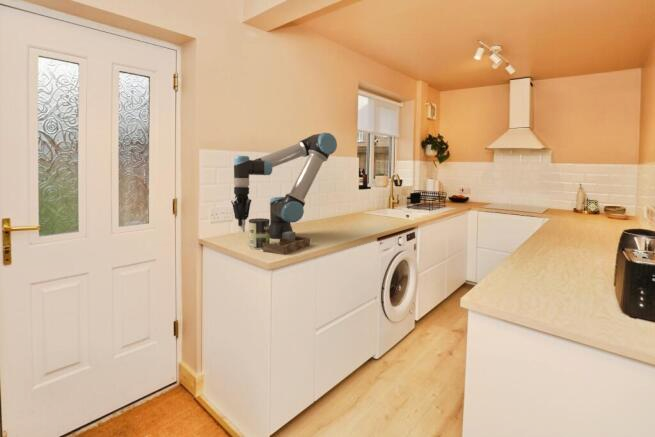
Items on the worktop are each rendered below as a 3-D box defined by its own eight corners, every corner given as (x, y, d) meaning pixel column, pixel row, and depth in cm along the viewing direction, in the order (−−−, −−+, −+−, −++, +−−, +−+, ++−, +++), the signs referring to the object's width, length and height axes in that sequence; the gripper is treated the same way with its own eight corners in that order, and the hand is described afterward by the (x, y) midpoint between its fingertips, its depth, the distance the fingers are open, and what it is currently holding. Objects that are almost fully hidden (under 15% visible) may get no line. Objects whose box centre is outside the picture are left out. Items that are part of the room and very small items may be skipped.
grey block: (288, 244, 193) (288, 231, 192) (295, 245, 191) (295, 231, 190) (282, 246, 187) (282, 232, 186) (288, 247, 185) (288, 233, 185)
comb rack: (290, 243, 195) (290, 235, 195) (309, 245, 190) (309, 238, 189) (263, 251, 175) (263, 243, 174) (283, 254, 169) (283, 246, 169)
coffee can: (272, 245, 189) (272, 218, 187) (265, 249, 179) (265, 221, 177) (254, 244, 191) (253, 217, 189) (245, 248, 181) (245, 220, 179)
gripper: (244, 185, 193) (244, 229, 196) (226, 186, 182) (227, 233, 185) (255, 186, 190) (255, 231, 193) (238, 187, 178) (238, 234, 181)
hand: (241, 232), depth 189 cm, fingers closed
